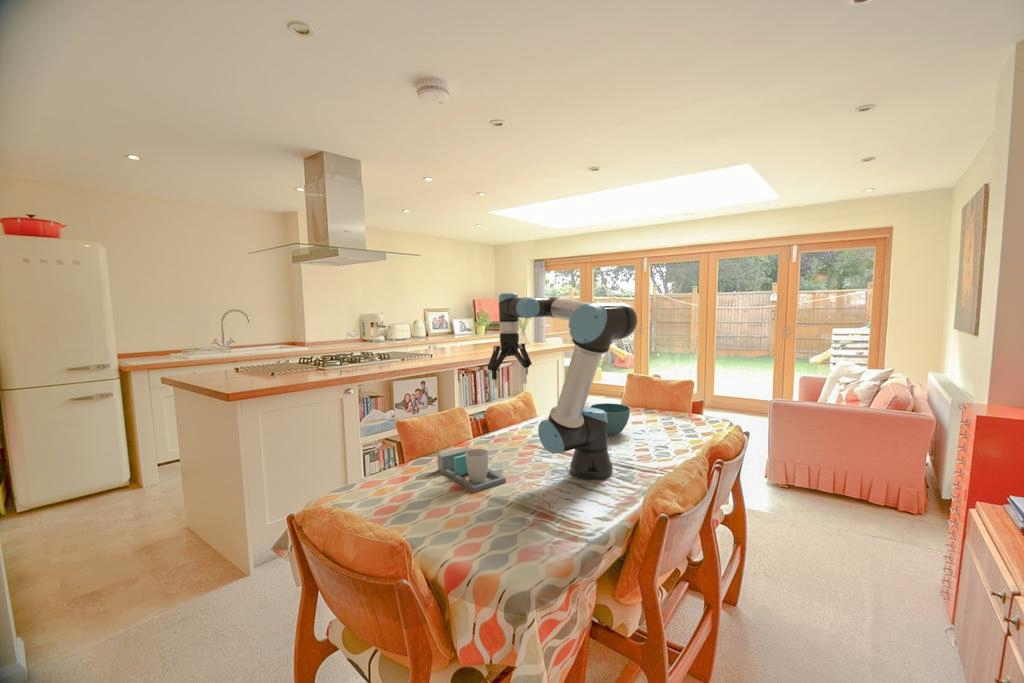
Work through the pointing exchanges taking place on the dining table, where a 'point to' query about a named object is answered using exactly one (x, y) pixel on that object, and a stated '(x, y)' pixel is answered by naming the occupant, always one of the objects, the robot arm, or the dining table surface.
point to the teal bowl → (615, 416)
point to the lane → (448, 465)
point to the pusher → (460, 465)
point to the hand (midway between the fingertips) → (510, 385)
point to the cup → (477, 464)
